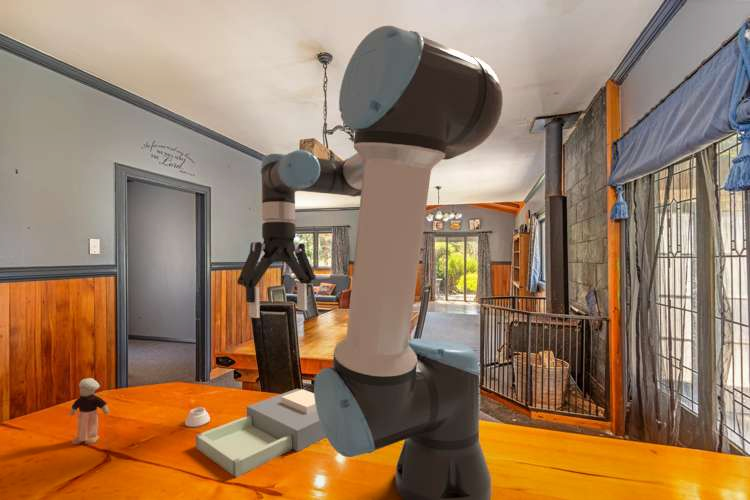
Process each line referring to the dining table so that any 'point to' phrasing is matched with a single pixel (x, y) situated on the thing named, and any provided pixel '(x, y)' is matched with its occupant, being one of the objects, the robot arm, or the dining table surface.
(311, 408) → the card
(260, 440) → the tray
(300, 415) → the grey drawer casing
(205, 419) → the white jar
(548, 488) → the dining table surface
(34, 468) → the dining table surface
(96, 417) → the grandmother figurine
